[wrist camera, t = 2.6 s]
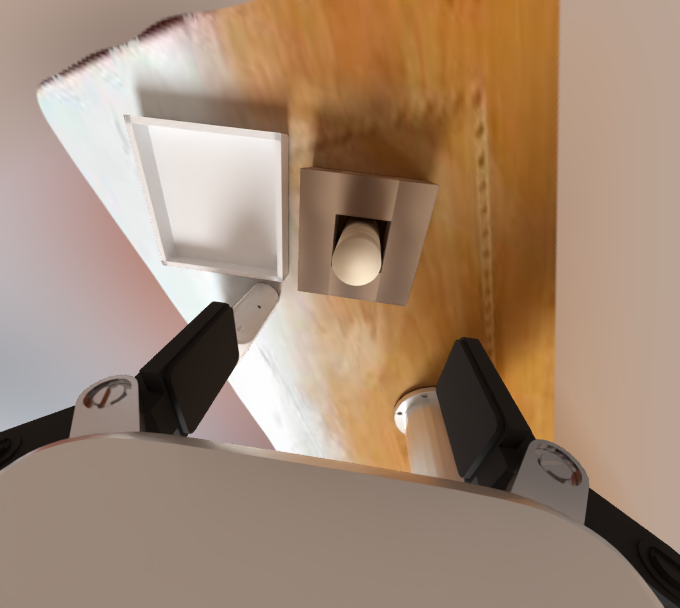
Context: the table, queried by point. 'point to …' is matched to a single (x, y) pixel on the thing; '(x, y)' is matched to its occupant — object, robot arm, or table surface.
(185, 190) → the tray
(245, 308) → the photo printer
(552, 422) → the table surface
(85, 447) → the robot arm
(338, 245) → the dowel
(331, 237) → the holder
